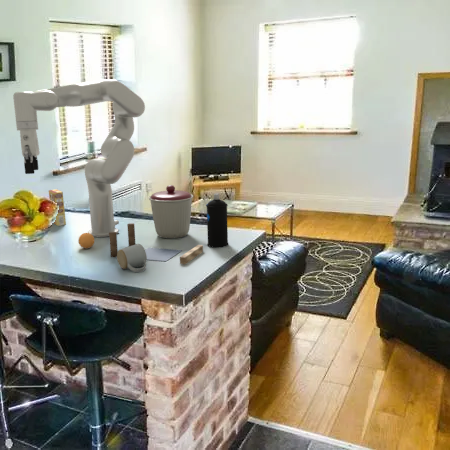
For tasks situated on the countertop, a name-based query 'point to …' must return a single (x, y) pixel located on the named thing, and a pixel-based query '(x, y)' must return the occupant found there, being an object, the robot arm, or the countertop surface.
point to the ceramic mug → (132, 258)
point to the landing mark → (160, 254)
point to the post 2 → (131, 234)
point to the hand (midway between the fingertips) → (32, 171)
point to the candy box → (58, 198)
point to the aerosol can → (217, 223)
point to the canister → (171, 212)
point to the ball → (86, 240)
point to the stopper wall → (191, 254)
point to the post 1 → (113, 244)
